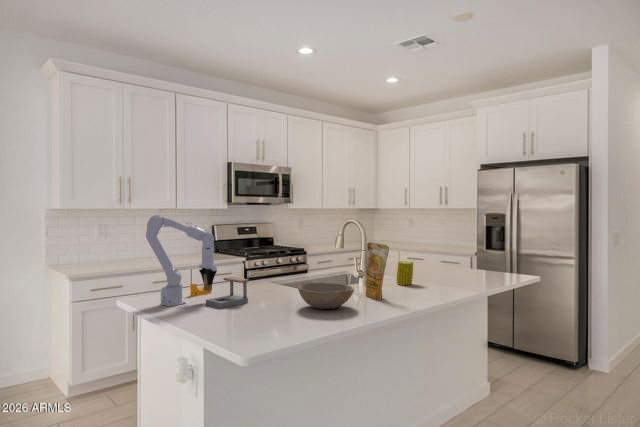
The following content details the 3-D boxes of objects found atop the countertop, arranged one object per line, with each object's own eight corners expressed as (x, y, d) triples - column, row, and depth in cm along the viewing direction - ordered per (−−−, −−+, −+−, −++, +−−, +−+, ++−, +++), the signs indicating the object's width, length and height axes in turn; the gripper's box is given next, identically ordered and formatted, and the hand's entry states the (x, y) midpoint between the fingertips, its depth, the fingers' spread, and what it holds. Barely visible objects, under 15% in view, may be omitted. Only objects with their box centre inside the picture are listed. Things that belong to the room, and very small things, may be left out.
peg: (213, 290, 216) (213, 273, 216) (206, 291, 214) (206, 274, 213) (209, 288, 219) (209, 273, 219) (202, 289, 217) (202, 273, 216)
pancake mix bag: (372, 293, 238) (372, 241, 237) (390, 300, 220) (390, 244, 219) (361, 294, 235) (361, 242, 235) (378, 301, 217) (378, 245, 217)
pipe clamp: (206, 292, 242) (206, 280, 242) (211, 293, 239) (211, 281, 239) (188, 295, 232) (188, 283, 232) (193, 296, 230) (193, 284, 229)
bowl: (321, 299, 222) (321, 279, 222) (365, 306, 205) (365, 285, 205) (285, 308, 202) (285, 287, 202) (330, 317, 185) (330, 294, 185)
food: (403, 285, 271) (415, 288, 263) (389, 282, 266) (400, 285, 257) (409, 261, 272) (420, 263, 263) (394, 257, 266) (405, 260, 258)
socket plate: (222, 308, 201) (222, 283, 201) (205, 304, 210) (205, 280, 210) (248, 302, 214) (248, 279, 214) (231, 299, 222) (231, 276, 222)
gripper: (222, 257, 213) (222, 285, 214) (208, 254, 224) (208, 281, 224) (209, 258, 209) (209, 286, 209) (195, 255, 220) (195, 282, 220)
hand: (207, 284), depth 216 cm, fingers closed on peg, 4 cm apart
